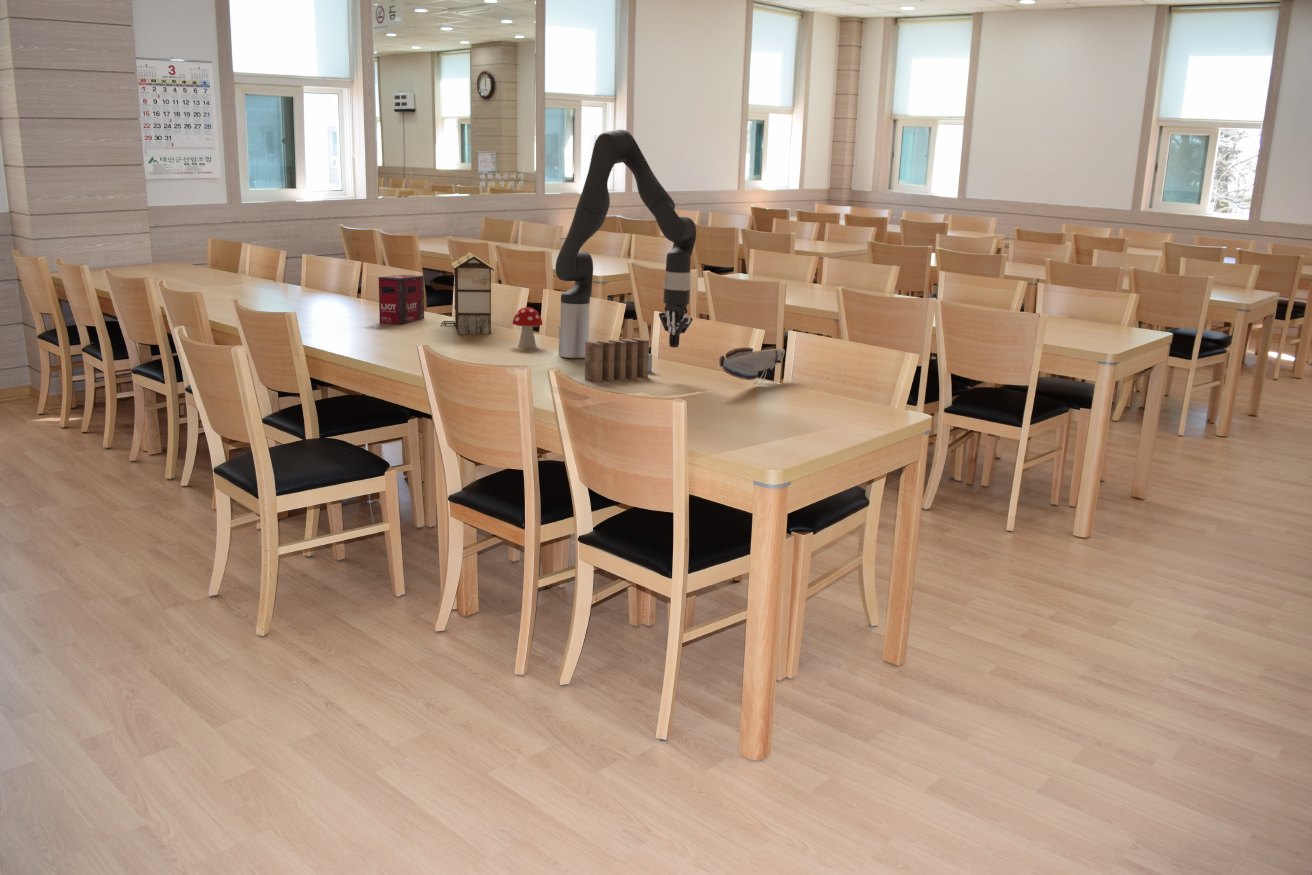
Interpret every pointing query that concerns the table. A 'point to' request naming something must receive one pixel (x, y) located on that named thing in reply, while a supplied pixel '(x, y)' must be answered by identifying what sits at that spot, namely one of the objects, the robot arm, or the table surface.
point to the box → (401, 299)
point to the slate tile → (650, 363)
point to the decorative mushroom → (527, 326)
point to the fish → (750, 362)
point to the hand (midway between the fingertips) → (673, 347)
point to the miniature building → (472, 295)
